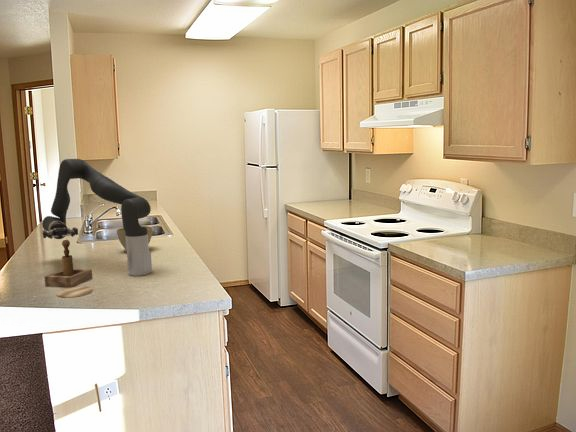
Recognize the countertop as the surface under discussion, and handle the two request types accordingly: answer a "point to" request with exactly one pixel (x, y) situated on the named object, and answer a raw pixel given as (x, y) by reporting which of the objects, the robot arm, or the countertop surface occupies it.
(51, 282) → the walnut collar
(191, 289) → the countertop surface
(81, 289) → the cork trivet
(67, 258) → the mortar and pestle
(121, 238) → the flower pot
